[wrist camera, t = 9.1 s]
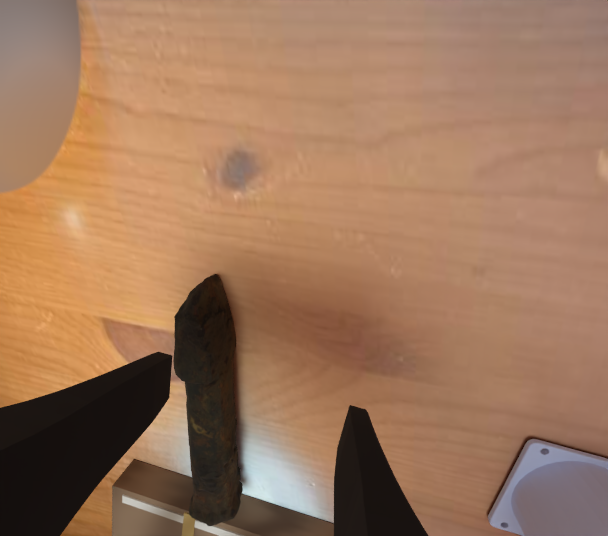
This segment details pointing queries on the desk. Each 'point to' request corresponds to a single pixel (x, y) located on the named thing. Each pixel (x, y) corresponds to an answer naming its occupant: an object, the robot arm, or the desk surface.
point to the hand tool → (209, 400)
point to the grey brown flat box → (175, 510)
